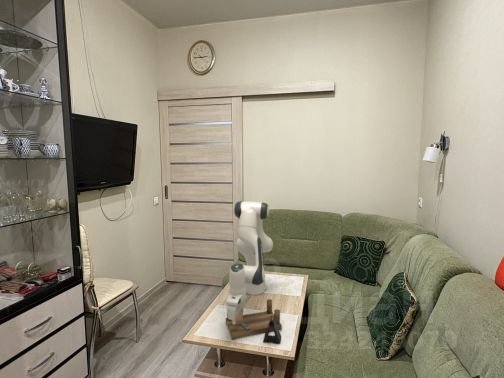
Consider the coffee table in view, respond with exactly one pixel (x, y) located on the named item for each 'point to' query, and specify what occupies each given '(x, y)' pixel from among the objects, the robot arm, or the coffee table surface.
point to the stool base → (254, 323)
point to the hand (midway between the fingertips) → (238, 318)
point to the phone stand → (277, 337)
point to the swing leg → (241, 320)
